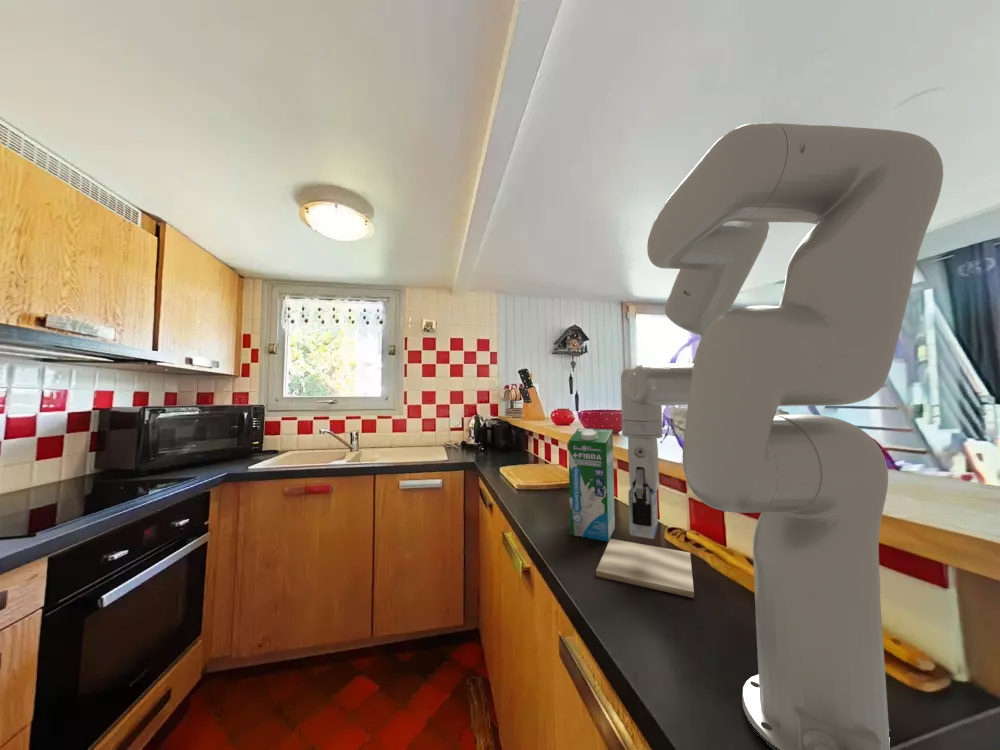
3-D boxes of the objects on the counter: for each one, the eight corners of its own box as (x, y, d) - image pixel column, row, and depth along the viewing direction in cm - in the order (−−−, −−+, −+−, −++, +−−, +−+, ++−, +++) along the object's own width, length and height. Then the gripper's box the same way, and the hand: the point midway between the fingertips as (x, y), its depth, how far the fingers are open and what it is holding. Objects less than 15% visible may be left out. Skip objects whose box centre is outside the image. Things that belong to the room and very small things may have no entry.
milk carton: (569, 534, 84) (568, 430, 85) (579, 522, 92) (577, 427, 93) (608, 542, 80) (605, 432, 81) (614, 528, 88) (612, 429, 89)
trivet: (694, 598, 58) (693, 591, 58) (596, 575, 65) (596, 570, 65) (690, 557, 72) (690, 552, 72) (610, 543, 79) (610, 538, 79)
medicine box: (654, 540, 64) (653, 492, 65) (629, 535, 66) (628, 489, 67) (658, 525, 71) (657, 483, 72) (635, 522, 73) (634, 480, 74)
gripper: (660, 434, 60) (663, 537, 60) (663, 425, 76) (665, 507, 75) (615, 432, 64) (617, 529, 63) (627, 424, 79) (629, 502, 78)
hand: (643, 516), depth 69 cm, fingers closed on medicine box, 8 cm apart
